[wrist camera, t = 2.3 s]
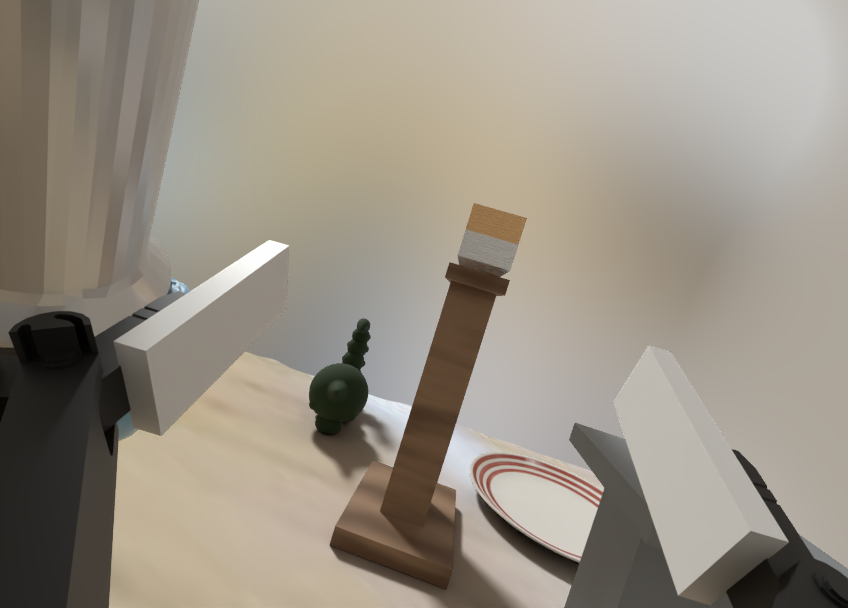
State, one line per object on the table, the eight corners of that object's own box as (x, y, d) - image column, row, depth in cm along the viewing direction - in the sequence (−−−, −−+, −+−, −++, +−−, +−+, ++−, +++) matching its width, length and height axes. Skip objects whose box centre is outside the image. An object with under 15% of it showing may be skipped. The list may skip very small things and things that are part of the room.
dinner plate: (687, 636, 42) (697, 607, 42) (446, 522, 50) (454, 497, 50) (628, 514, 69) (634, 496, 69) (477, 452, 76) (482, 435, 76)
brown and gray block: (510, 270, 29) (526, 218, 29) (457, 255, 30) (473, 203, 29) (490, 282, 51) (500, 252, 51) (460, 273, 51) (470, 243, 51)
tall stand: (446, 589, 38) (542, 289, 37) (329, 545, 39) (419, 252, 38) (451, 503, 54) (519, 292, 53) (368, 473, 55) (432, 265, 54)
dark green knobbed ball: (317, 400, 82) (286, 438, 57) (344, 311, 83) (326, 311, 58) (361, 412, 82) (350, 455, 58) (388, 324, 83) (389, 330, 58)
